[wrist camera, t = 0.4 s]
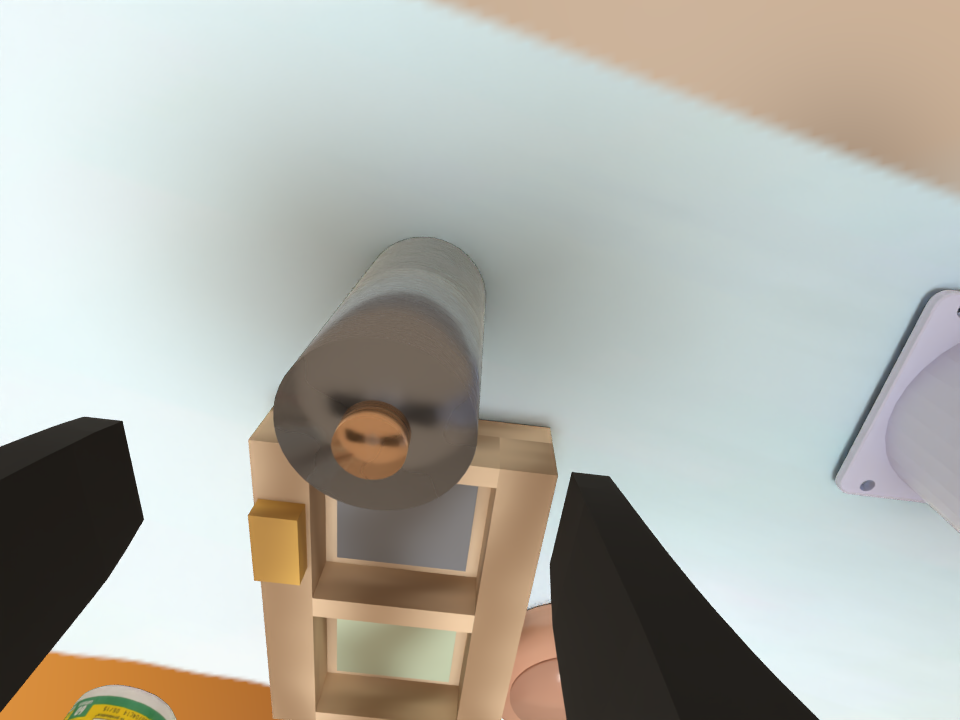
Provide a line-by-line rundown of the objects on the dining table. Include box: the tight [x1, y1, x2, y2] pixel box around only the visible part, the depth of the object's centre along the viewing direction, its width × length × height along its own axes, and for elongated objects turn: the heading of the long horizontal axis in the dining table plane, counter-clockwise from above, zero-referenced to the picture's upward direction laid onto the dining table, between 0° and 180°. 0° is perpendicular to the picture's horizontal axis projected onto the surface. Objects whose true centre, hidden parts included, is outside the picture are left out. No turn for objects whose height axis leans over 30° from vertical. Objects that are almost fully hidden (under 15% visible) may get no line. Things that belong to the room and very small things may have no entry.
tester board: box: [248, 406, 558, 720], centre depth 21 cm, size 10×15×4 cm, turn 173°
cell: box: [273, 237, 486, 511], centre depth 14 cm, size 4×4×9 cm
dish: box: [502, 604, 567, 720], centre depth 24 cm, size 7×7×2 cm
